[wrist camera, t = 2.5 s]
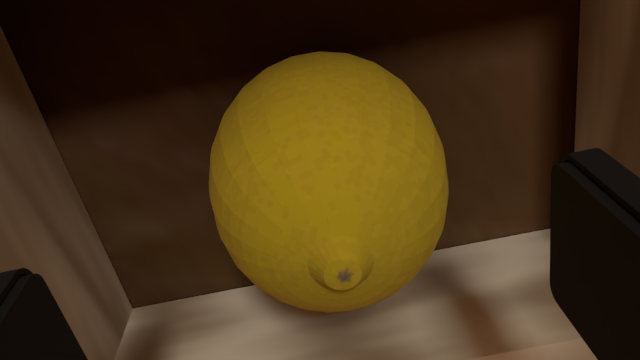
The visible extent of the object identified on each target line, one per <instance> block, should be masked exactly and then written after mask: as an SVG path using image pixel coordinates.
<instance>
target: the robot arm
mask: <svg viewBox="0 0 640 360" xmlns="http://www.w3.org/2000/svg"><path fill="white" fill-rule="evenodd" d="M550 288H551V292H552V295H553V297H554V299H555V301H556V303H557V304H558V306H559V307H560V308H561V310H562V311H563V312H564V314H565V315H566V317H567V318H568V319H569V321H570V322H571V324H572V325H573V326H574V328H575V329H576V330H577V332H578V333H579V335H580V336H581V337H582V339H583V340H584V342H585V343H586V344H587V346H588V347H589V349H590V350H591V351H592V353H593V354H594V355H595V357H596V358H597V360H640V178H639V177H638V176H637V175H635V174H634V173H632V172H631V171H630V170H628V169H627V168H626V167H624V166H623V165H622V164H620V163H619V162H618V161H616V160H615V159H614V158H612V157H611V156H610V155H608V154H607V153H605V152H604V151H603V150H601V149H599V148H592V149H587V150H583V151H578V152H573V153H568V154H564V155H563V156H562V157H561V160H560V164H555V165H554V166H553V167H552V171H551V224H550ZM0 360H88V359H87V357H86V355H85V354H84V352H83V350H82V348H81V346H80V344H79V343H78V341H77V339H76V337H75V335H74V333H73V332H72V330H71V328H70V326H69V324H68V322H67V321H66V319H65V317H64V315H63V313H62V311H61V310H60V308H59V306H58V304H57V302H56V300H55V299H54V297H53V295H52V293H51V291H50V289H49V288H48V286H47V284H46V282H45V280H44V279H43V277H42V276H41V275H39V274H36V273H35V274H33V273H32V272H31V271H30V270H28V269H26V268H20V269H15V270H11V271H6V272H1V273H0Z"/></svg>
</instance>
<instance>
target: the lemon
mask: <svg viewBox="0 0 640 360" xmlns="http://www.w3.org/2000/svg"><path fill="white" fill-rule="evenodd" d="M448 193H449V188H448V177H447V170H446V162H445V155H444V150H443V146H442V143H441V140H440V137H439V135H438V133H437V131H436V129H435V126H434V124H433V122H432V120H431V117H430V115H429V113H428V111H427V109H426V108H425V107H424V105H423V104H422V103H421V102H420V100H419V99H418V98H417V97H416V96H415V95H414V93H413V92H412V91H411V90H410V89H409V88H408V87H407V85H406V84H405V83H404V82H403V81H402V80H400V79H399V78H398V77H396V76H395V75H393V74H391V73H390V72H388V71H387V70H385V69H384V68H382V67H381V66H379V65H378V64H376V63H374V62H372V61H369V60H366V59H363V58H360V57H357V56H354V55H351V54H348V53H337V52H321V51H318V52H313V53H308V54H302V55H297V56H291V57H289V58H287V59H285V60H283V61H280V62H278V63H276V64H274V65H272V66H270V67H267V68H265V69H264V70H263V71H262V72H261V73H259V74H258V75H257V76H256V77H255V78H253V79H252V80H251V81H250V82H249V83H247V84H246V85H245V86H244V87H243V88H242V89H241V90H240V92H239V93H238V95H237V96H236V97H235V99H234V100H233V102H232V103H231V105H230V106H229V107H228V109H227V110H226V112H225V113H224V115H223V117H222V120H221V123H220V126H219V128H218V131H217V134H216V137H215V139H214V142H213V145H212V148H211V155H210V171H209V194H210V200H211V204H212V208H213V212H214V217H215V221H216V225H217V229H218V232H219V235H220V237H221V240H222V241H223V243H224V245H225V247H226V249H227V250H228V252H229V254H230V256H231V258H232V259H233V261H234V263H235V264H236V266H237V267H238V268H239V269H240V271H241V272H242V273H243V274H244V275H245V276H246V277H247V278H248V279H249V280H250V281H251V282H252V283H253V284H254V285H255V286H257V287H258V288H259V289H260V290H262V291H264V292H265V293H267V294H269V295H270V296H272V297H274V298H275V299H277V300H279V301H280V302H283V303H286V304H289V305H292V306H295V307H298V308H301V309H304V310H311V311H319V312H327V313H330V312H343V311H352V310H356V309H359V308H363V307H367V306H370V305H373V304H375V303H377V302H379V301H381V300H383V299H385V298H387V297H389V296H391V295H393V294H395V293H396V292H397V291H399V290H400V289H401V288H402V287H404V286H405V285H406V284H407V283H409V282H410V281H411V280H412V279H414V277H415V276H416V275H417V274H418V272H419V271H420V270H421V269H422V267H423V266H424V265H425V264H426V262H427V261H428V260H429V258H430V257H431V255H432V253H433V251H434V249H435V247H436V245H437V242H438V240H439V238H440V236H441V234H442V231H443V227H444V223H445V217H446V210H447V203H448Z"/></svg>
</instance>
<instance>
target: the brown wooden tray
mask: <svg viewBox="0 0 640 360" xmlns="http://www.w3.org/2000/svg"><path fill="white" fill-rule="evenodd" d="M592 148H599V149H601V150H603V151H604V152H605V153H607V154H608V155H610V156H611V157H612V158H614V159H615V160H616V161H618V162H619V163H620V164H622V165H623V166H624V167H626V168H627V169H628V170H630V171H631V172H632V173H634V174H635V175H637V176H638V177H639V178H640V0H581V1H580V25H579V50H578V74H577V99H576V123H575V147H574V152H578V151H583V150H587V149H592ZM20 268H26V269H28V270H30V271H31V272H32V273H33V274H35V273H36V274H39V275H41V276H42V277H43V279H44V280H45V282H46V284H47V286H48V288H49V289H50V291H51V293H52V295H53V297H54V299H55V300H56V302H57V304H58V306H59V308H60V310H61V311H62V313H63V315H64V317H65V319H66V321H67V322H68V324H69V326H70V328H71V330H72V332H73V333H74V335H75V337H76V339H77V341H78V343H79V344H80V346H81V348H82V350H83V352H84V354H85V355H86V357H87V359H88V360H597V358H596V357H595V355H594V354H593V353H592V351H591V350H590V349H589V347H588V346H587V344H586V343H585V342H584V340H583V339H582V337H581V336H580V335H579V333H578V332H577V330H576V329H575V328H574V326H573V325H572V324H571V322H570V321H569V319H568V318H567V317H566V315H565V314H564V312H563V311H562V310H561V308H560V307H559V306H558V304H557V303H556V301H555V299H554V297H553V295H552V292H551V288H550V229H545V230H540V231H535V232H529V233H524V234H519V235H514V236H509V237H503V238H498V239H493V240H488V241H483V242H477V243H472V244H467V245H462V246H456V247H451V248H446V249H441V250H436V251H433V253H432V255H431V257H430V258H429V260H428V261H427V262H426V264H425V265H424V266H423V267H422V269H421V270H420V271H419V272H418V274H417V275H416V276H415V277H414V279H412V280H411V281H410V282H409V283H407V284H406V285H405V286H404V287H402V288H401V289H400V290H399V291H397V292H396V293H395V294H393V295H391V296H389V297H387V298H385V299H383V300H381V301H379V302H377V303H375V304H373V305H370V306H367V307H363V308H359V309H356V310H352V311H343V312H330V313H327V312H319V311H311V310H304V309H301V308H298V307H295V306H292V305H289V304H286V303H283V302H280V301H279V300H277V299H275V298H274V297H272V296H270V295H269V294H267V293H265V292H264V291H262V290H260V289H259V288H258V287H257V286H255V285H253V286H248V287H243V288H237V289H232V290H227V291H222V292H217V293H211V294H206V295H201V296H196V297H191V298H185V299H180V300H175V301H170V302H165V303H159V304H154V305H149V306H144V307H138V308H132V306H131V304H130V302H129V300H128V298H127V296H126V293H125V291H124V289H123V287H122V285H121V283H120V281H119V278H118V276H117V274H116V272H115V270H114V268H113V266H112V264H111V261H110V259H109V257H108V255H107V253H106V251H105V249H104V246H103V244H102V242H101V240H100V238H99V236H98V234H97V231H96V229H95V227H94V225H93V223H92V221H91V219H90V217H89V214H88V212H87V210H86V208H85V206H84V204H83V202H82V199H81V197H80V195H79V193H78V191H77V189H76V187H75V185H74V182H73V180H72V178H71V176H70V174H69V172H68V170H67V167H66V165H65V163H64V161H63V159H62V157H61V155H60V152H59V150H58V148H57V146H56V144H55V142H54V140H53V138H52V135H51V133H50V131H49V129H48V127H47V125H46V123H45V120H44V118H43V116H42V114H41V112H40V110H39V108H38V105H37V103H36V101H35V99H34V97H33V95H32V93H31V91H30V88H29V86H28V84H27V82H26V80H25V78H24V76H23V73H22V71H21V69H20V67H19V65H18V63H17V61H16V59H15V56H14V54H13V52H12V50H11V48H10V46H9V44H8V41H7V39H6V37H5V35H4V33H3V31H2V29H1V26H0V273H1V272H6V271H11V270H15V269H20Z"/></svg>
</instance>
